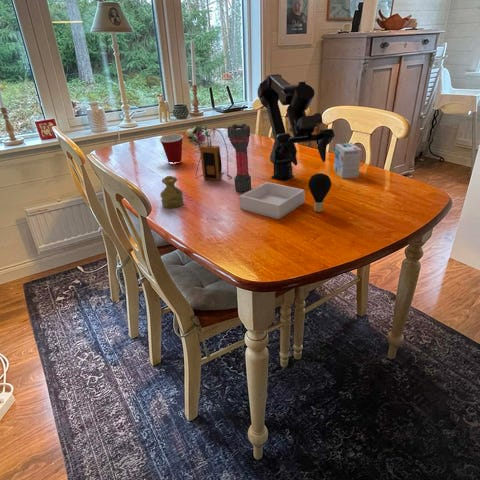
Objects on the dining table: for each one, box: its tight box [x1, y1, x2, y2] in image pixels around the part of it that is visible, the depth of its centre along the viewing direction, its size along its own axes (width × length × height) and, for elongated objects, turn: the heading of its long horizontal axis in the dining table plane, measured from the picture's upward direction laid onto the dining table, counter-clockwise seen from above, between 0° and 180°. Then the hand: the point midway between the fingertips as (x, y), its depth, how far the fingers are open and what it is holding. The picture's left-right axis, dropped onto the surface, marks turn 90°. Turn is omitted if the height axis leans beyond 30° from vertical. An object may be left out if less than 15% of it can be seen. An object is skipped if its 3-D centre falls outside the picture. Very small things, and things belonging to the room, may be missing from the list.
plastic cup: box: [158, 133, 184, 163], centre depth 165 cm, size 11×11×12 cm
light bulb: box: [307, 172, 332, 213], centre depth 110 cm, size 7×7×12 cm
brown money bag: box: [159, 175, 184, 209], centre depth 122 cm, size 7×8×10 cm
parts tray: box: [239, 181, 306, 220], centre depth 117 cm, size 15×15×4 cm
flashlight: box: [227, 123, 252, 193], centre depth 127 cm, size 8×8×23 cm
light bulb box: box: [333, 142, 362, 179], centre depth 139 cm, size 11×7×11 cm, turn 5°
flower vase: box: [185, 125, 211, 147], centre depth 196 cm, size 12×12×35 cm
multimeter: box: [195, 127, 233, 181], centre depth 143 cm, size 15×10×20 cm
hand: (310, 163), depth 113 cm, fingers open, 9 cm apart
